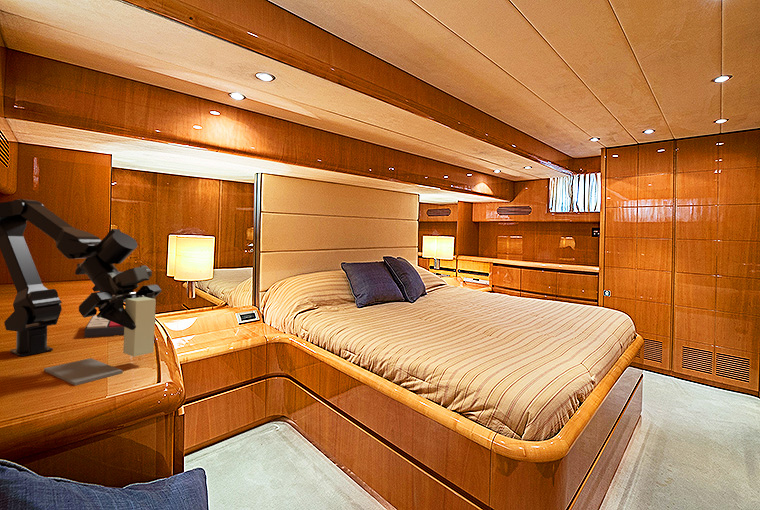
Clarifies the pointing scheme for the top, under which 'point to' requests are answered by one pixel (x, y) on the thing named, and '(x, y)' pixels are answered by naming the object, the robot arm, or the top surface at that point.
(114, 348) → the top surface
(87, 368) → the mat
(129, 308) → the block
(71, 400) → the top surface
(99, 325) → the black red white box
